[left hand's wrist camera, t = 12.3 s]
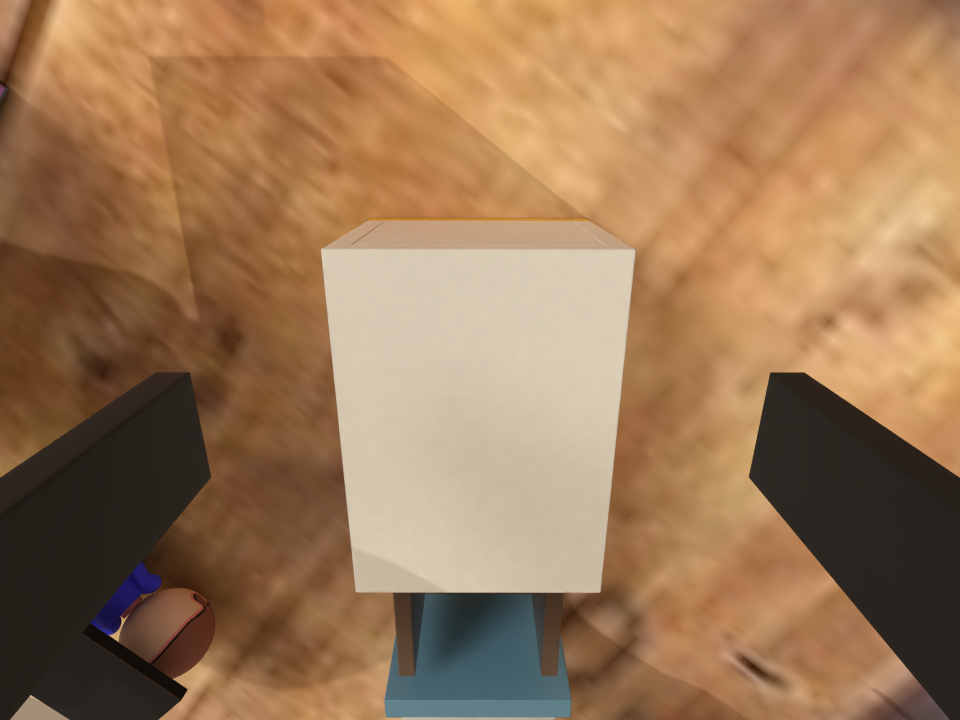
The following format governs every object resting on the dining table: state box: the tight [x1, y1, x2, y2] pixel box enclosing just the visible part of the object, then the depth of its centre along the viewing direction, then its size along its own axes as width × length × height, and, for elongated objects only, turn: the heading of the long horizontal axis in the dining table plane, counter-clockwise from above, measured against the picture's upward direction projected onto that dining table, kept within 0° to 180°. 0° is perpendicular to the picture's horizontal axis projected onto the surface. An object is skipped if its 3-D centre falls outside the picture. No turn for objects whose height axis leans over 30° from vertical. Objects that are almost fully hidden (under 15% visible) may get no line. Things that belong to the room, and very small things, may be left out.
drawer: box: [385, 593, 572, 720], centre depth 29 cm, size 19×9×7 cm, turn 0°
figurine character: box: [31, 561, 215, 720], centre depth 30 cm, size 7×8×15 cm
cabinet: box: [321, 218, 636, 593], centre depth 25 cm, size 14×10×9 cm
